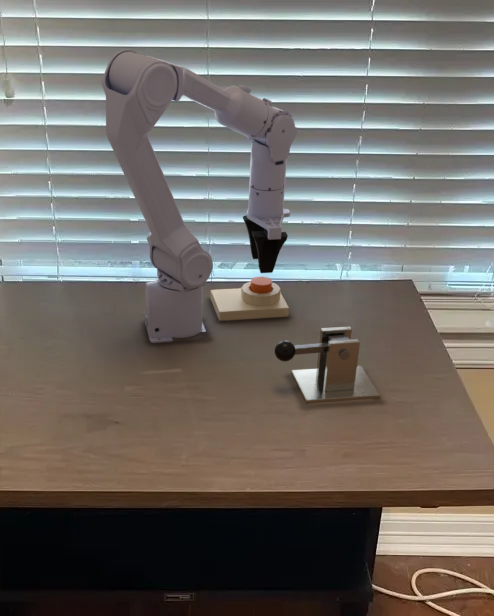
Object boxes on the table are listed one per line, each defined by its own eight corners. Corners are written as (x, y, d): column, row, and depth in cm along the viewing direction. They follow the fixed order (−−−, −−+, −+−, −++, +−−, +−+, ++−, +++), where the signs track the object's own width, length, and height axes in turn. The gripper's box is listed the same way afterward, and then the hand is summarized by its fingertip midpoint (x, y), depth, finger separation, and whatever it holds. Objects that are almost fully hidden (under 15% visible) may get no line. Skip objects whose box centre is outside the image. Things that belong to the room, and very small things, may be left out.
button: (252, 295, 157) (253, 285, 156) (248, 286, 160) (248, 277, 159) (273, 294, 157) (274, 284, 156) (268, 285, 160) (269, 276, 159)
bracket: (305, 406, 133) (311, 352, 128) (290, 375, 140) (295, 323, 135) (379, 400, 134) (387, 346, 129) (360, 370, 142) (367, 318, 136)
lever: (276, 366, 132) (277, 347, 130) (272, 356, 134) (272, 337, 133) (350, 359, 133) (352, 340, 131) (344, 349, 135) (346, 331, 134)
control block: (219, 321, 156) (219, 302, 154) (210, 298, 163) (210, 280, 161) (288, 316, 157) (290, 297, 155) (276, 294, 164) (277, 276, 162)
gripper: (302, 199, 142) (295, 281, 150) (280, 170, 154) (275, 247, 162) (258, 201, 142) (253, 283, 149) (239, 172, 153) (236, 249, 161)
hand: (262, 265), depth 156 cm, fingers open, 5 cm apart
